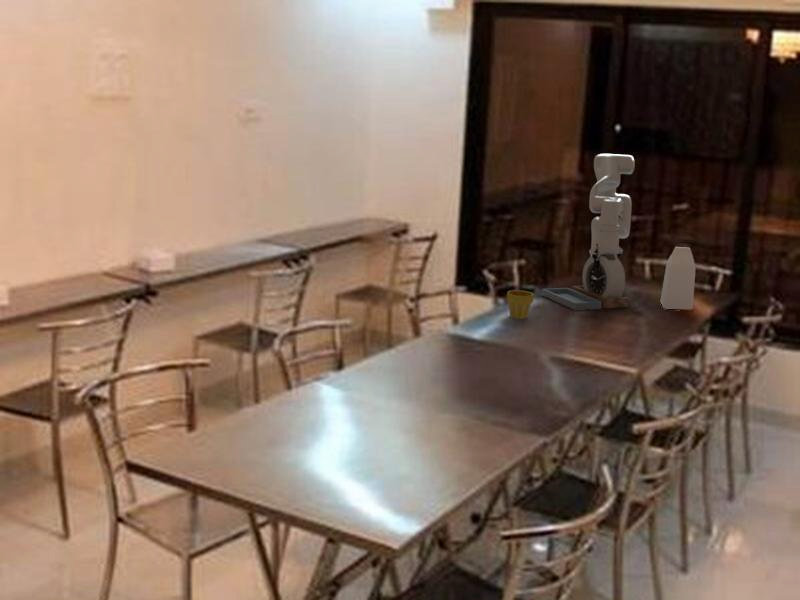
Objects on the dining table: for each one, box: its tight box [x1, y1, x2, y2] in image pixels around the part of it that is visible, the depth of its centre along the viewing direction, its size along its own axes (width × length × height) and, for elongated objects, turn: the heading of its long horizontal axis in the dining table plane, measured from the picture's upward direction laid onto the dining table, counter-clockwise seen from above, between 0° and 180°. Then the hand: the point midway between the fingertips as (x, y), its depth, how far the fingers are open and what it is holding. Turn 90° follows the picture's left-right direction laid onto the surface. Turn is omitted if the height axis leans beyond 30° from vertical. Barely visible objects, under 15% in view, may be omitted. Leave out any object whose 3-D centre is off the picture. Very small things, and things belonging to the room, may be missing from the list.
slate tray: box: [541, 287, 602, 311], centre depth 455 cm, size 13×27×3 cm, turn 23°
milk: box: [659, 246, 696, 310], centre depth 454 cm, size 12×12×26 cm
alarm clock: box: [582, 254, 626, 298], centre depth 459 cm, size 21×8×20 cm, turn 25°
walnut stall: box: [571, 285, 629, 309], centre depth 461 cm, size 12×25×4 cm, turn 23°
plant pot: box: [506, 289, 534, 320], centre depth 424 cm, size 10×10×10 cm
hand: (604, 268), depth 459 cm, fingers closed on alarm clock, 7 cm apart
